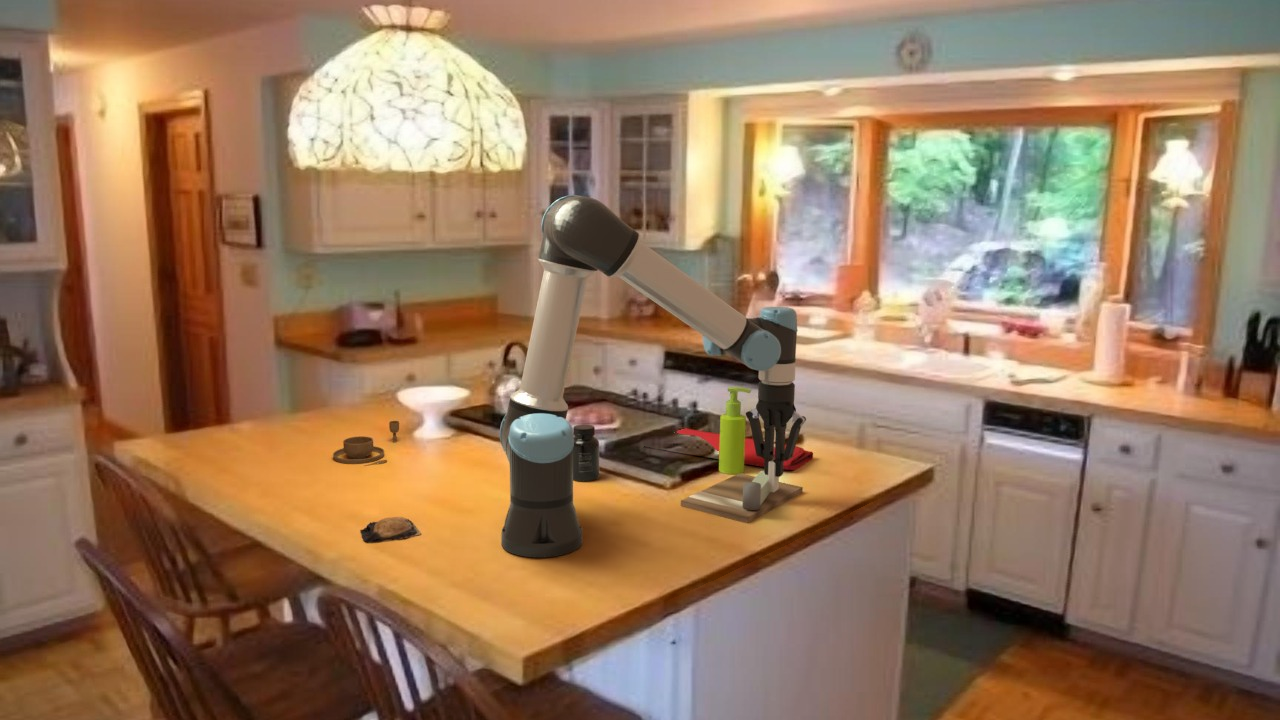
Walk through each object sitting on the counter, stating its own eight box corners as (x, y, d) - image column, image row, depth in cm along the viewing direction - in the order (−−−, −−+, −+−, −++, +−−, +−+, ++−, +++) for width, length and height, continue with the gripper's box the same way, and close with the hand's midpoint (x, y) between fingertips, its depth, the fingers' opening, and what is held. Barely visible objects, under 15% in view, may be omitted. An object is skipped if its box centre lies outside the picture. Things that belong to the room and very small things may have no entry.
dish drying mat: (670, 435, 254) (670, 421, 253) (814, 460, 233) (814, 445, 232) (639, 448, 241) (639, 434, 240) (788, 476, 220) (789, 461, 219)
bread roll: (412, 525, 186) (412, 507, 186) (423, 539, 179) (422, 520, 178) (357, 533, 182) (356, 514, 181) (366, 548, 174) (365, 529, 174)
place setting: (320, 455, 232) (319, 431, 231) (396, 441, 244) (395, 419, 243) (349, 472, 219) (348, 448, 218) (428, 457, 231) (427, 434, 230)
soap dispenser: (747, 475, 218) (750, 391, 215) (717, 473, 220) (719, 389, 216) (749, 468, 224) (752, 386, 220) (720, 466, 225) (722, 384, 222)
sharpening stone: (757, 511, 191) (758, 488, 190) (740, 508, 192) (741, 486, 191) (775, 487, 205) (776, 466, 204) (758, 485, 206) (759, 464, 206)
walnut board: (747, 523, 188) (747, 516, 188) (680, 505, 197) (680, 500, 197) (802, 492, 207) (802, 486, 207) (739, 478, 216) (739, 472, 216)
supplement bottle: (604, 475, 217) (604, 425, 215) (590, 484, 211) (590, 432, 209) (578, 471, 220) (578, 421, 218) (563, 479, 214) (563, 428, 211)
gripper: (812, 381, 196) (808, 490, 200) (755, 375, 203) (752, 480, 207) (799, 387, 190) (794, 500, 194) (740, 381, 196) (737, 489, 201)
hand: (773, 490), depth 200 cm, fingers closed
